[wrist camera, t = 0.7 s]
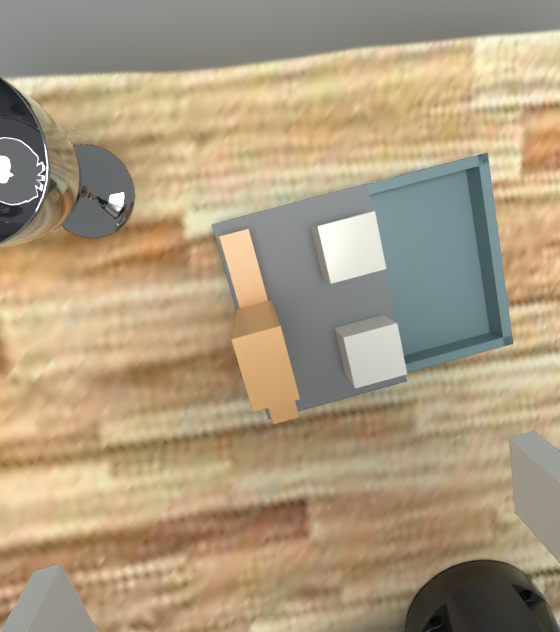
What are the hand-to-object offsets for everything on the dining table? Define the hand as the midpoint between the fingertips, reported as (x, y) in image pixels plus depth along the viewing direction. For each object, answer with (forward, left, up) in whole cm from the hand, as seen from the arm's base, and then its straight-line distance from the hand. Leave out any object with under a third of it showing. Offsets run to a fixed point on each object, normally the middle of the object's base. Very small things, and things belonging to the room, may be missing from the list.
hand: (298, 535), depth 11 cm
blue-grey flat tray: (+2, -16, -24) cm, 29 cm away
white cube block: (-2, -8, -20) cm, 21 cm away
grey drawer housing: (+2, -4, -24) cm, 25 cm away
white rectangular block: (+6, -7, -20) cm, 22 cm away
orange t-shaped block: (+2, 0, -20) cm, 20 cm away
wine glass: (+15, +10, -24) cm, 30 cm away
